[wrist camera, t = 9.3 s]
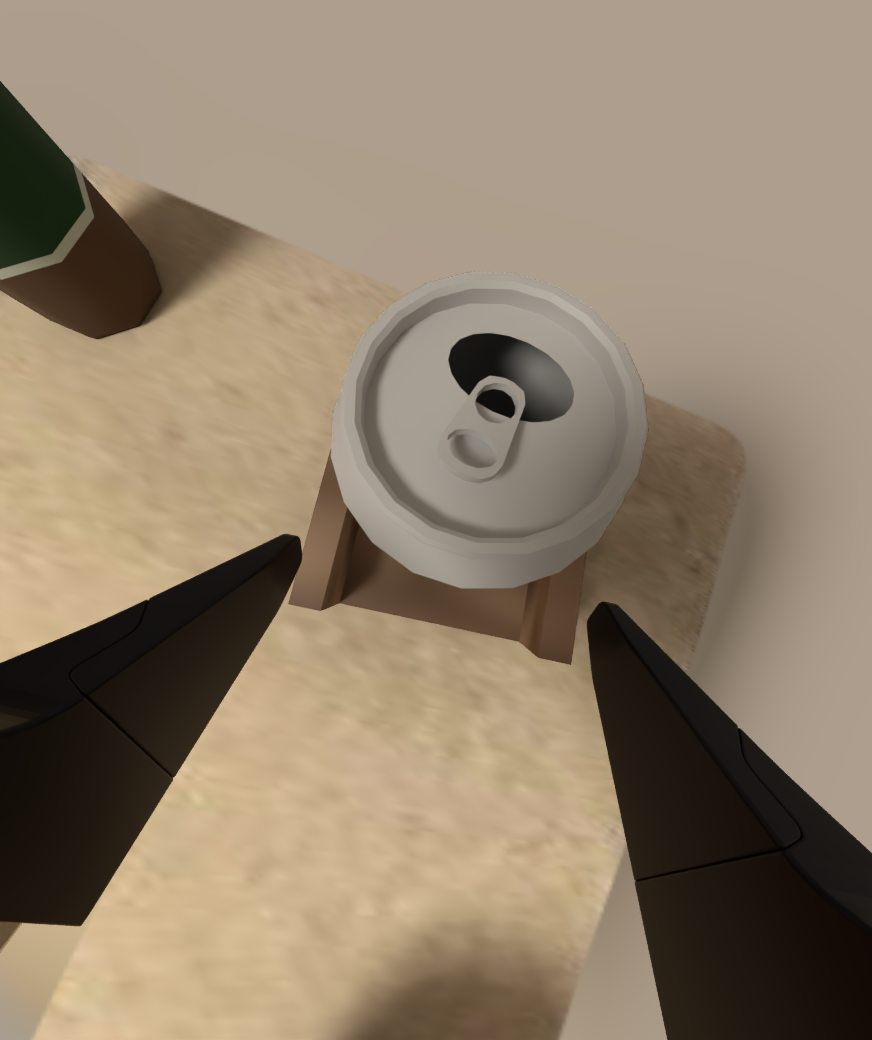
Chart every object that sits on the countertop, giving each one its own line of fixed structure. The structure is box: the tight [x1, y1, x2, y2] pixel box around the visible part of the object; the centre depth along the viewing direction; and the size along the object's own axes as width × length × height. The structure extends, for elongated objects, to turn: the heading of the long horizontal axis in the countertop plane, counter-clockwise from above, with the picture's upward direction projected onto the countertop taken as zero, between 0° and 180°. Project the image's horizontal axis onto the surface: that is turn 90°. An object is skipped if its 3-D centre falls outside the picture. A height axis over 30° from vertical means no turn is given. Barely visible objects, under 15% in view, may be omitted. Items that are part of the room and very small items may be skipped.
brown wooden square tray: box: [288, 450, 586, 665], centre depth 17 cm, size 13×13×4 cm
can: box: [331, 272, 649, 588], centre depth 12 cm, size 8×8×12 cm
